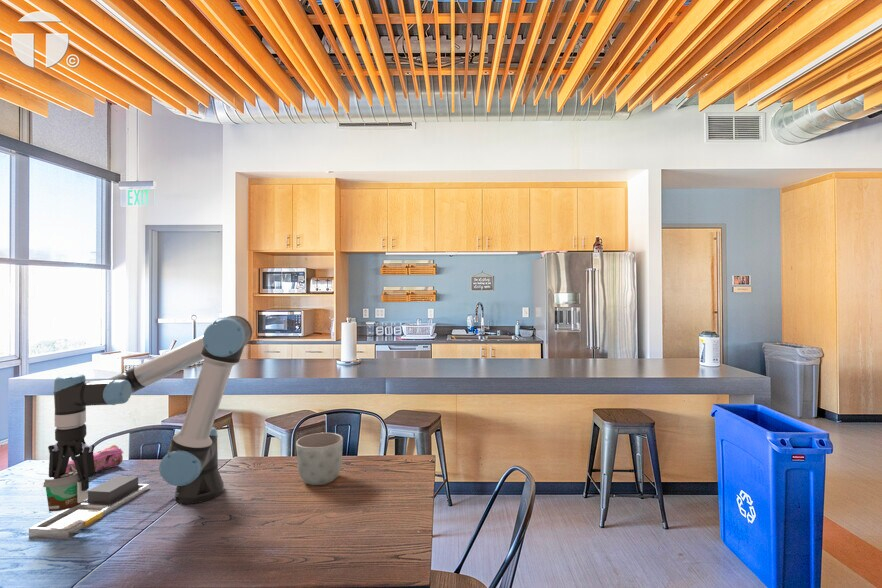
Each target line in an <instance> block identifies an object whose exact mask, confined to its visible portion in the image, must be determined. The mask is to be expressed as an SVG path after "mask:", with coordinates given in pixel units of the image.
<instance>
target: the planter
mask: <svg viewBox="0 0 882 588" xmlns="http://www.w3.org/2000/svg"><path fill="white" fill-rule="evenodd" d="M343 442H344V437H343V436H342V435H341V434H339V433H335V432H316V433H311V434H307V435H304V436H302V437H299V438H298V439H297V440H296V441H295V448H296V449H295V450H296V458H297V459H296V460H297V470H298V475H299V476H300V479H301V480H302V481H303V482H304V483H305V484H307V485H309V486H310V485H311V486H323V485H327V484H330V483H331V482H333V481H334V480H335V479H337V478H338V476H339V475H340V472H341V470H342V469H341V468H342V465H343V464H342V463H343V462H342V461H343V445H344V443H343Z"/></svg>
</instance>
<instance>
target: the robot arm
mask: <svg viewBox="0 0 882 588" xmlns="http://www.w3.org/2000/svg"><path fill="white" fill-rule="evenodd" d="M252 336H253V328H252V324H251V323H250V322H249V321H248V319H246V318H245V317H242V316H239V315H229V316H226V317H220V318H218V319H215V320H214V321H212V322H211V323H210V324H209V325H208V326H207V327H206V328H205V330H204V332H203V335H201V336H199V337H196V338H195V339H192V340H190V341H187V342H186V343H184V344H181V345H179V346H177V347H175V348H173V349H170V350H169V351H167V352H164V353H162V354H160V355H158V356H156V357H153V358H152V359H150V360H148V361H145V362H143V363H141V364H139V365H137V366H135V367H132V368H130V369H128V370H126V371H123V372H122V373H119V374H117V375H115V376H112V377H110V378H107V379H103V380H87V379H86V375H85V374H83V373H75V374H74V373H73V374H64V375H60V376H57V377H56V378H55V379H54V382H53V392H52V393H53V396H54V397H53V398H54V403H53V404H54V427H55V429H54V439H55V441H56V442H55V443H53V444H50V445H48V447H47V449H48V453H49V458H48V459H49V461H48V477H49V478H50V479H52V478H53V479H55V478H57V477H59V476H61V475H62V474H64V473H65V472H66V469H67V465H68V462H69V461H70V459H71V460H73V461H74V464H75V467H76V470H77V473H78V476H79V479H80V480H78V481H77V499H78V503H81V502H82V501H84V500H86V499H88V490H90V489H89V488H90V479H92V478H93V477H95V476H96V472H95V466H94V456H93V453H94V451H95V445H94V444H87V443H86V441H85V437H86V436H87V424H86V422H87V408H86V407H88V406H109V405H110V406H111V405H112V406H116V405H123V404H126V403H127V402H129V399H131V396H132V394H134V393H136V392H138V391H140V390H141V389H143V388H146V387H148V386H150V385H152V384H155V383H156V382H158V381H161V380H163V379H165V378H167V377H169V376H171V375H173V374H175V373H177V372H180V371H182V370H184V369H186V368H189V367H190V366H192V365H194V364H197V363H198V362H201V361H203V363H202V366H201V370H200V372H199V375H198V378H197V380H196V383H195V387H194V390H193V393H192V395H191V398H190V401H189V405H188V408H187V411H186V413H185V416H184V419H183V422H182V425H181V429H180V431H178V432H177V433H175V434H174V435H173V436H172V439H171V441H170V445H169V448H168V451H167V453H166V454H165V455H164V456H163V457H162V459H161V461H160V463H159V474H160V476H161V478H162V479H163V481H164V482H166V483H167V484H168V485H171V486H175V487H176V488H175V492H174V500H175V501H176V503H179V504H187V505H189V504H198V503H203V502H206V501H209V500H212V499H214V498H217V497H218V496H220V495H221V494H222V493H223V492H224V489H225V487H224V486H225V485H224V481H223V479H222V476H221V473H220V471H219V467H218V465H219V462H218V458H219V456H218V430H217V428H216V427H214V424H215V423H214V422H215V420H216V416H217V414H218V411H219V407H220V404H221V403H222V402H221V401H222V399H223V395H224V393H225V390H226V387H227V383H228V381H229V378H230V375H231V372H232V369H233V366H236V365H237V364H239V362H240V360H241V357H242V354H243V352H244V348H245V346H247V345H249V343H250V342H251V339H252ZM54 471H55V472H54ZM84 475H85V476H84Z"/></svg>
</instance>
